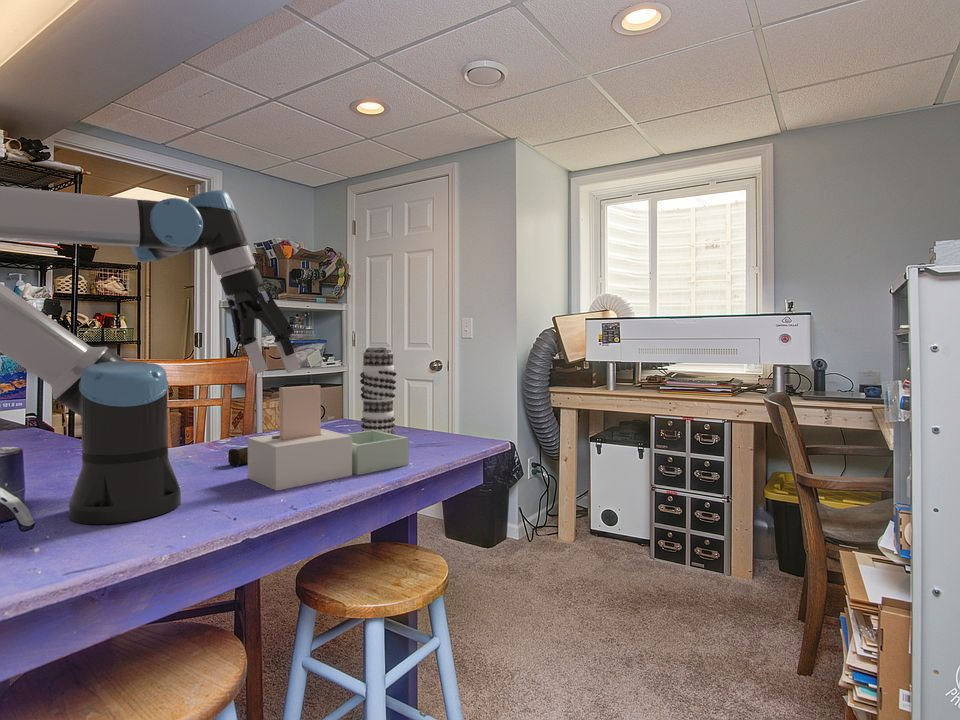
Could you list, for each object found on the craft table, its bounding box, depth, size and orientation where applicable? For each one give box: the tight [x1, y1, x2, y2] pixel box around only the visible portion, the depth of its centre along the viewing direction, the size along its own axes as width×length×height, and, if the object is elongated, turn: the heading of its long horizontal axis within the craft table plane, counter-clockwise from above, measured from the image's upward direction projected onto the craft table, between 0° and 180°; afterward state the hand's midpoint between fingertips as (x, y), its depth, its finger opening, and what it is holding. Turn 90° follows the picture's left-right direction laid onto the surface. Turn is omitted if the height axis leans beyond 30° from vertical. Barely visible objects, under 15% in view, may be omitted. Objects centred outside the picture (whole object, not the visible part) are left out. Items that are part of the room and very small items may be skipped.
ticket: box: [278, 384, 322, 441], centre depth 111 cm, size 8×2×16 cm, turn 136°
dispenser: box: [247, 428, 353, 491], centre depth 111 cm, size 16×12×8 cm
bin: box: [345, 430, 410, 476], centre depth 123 cm, size 13×13×6 cm
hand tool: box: [227, 446, 248, 468], centre depth 127 cm, size 19×4×5 cm, turn 142°
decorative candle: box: [359, 347, 398, 435], centre depth 144 cm, size 9×9×25 cm
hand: (277, 371), depth 116 cm, fingers open, 13 cm apart
